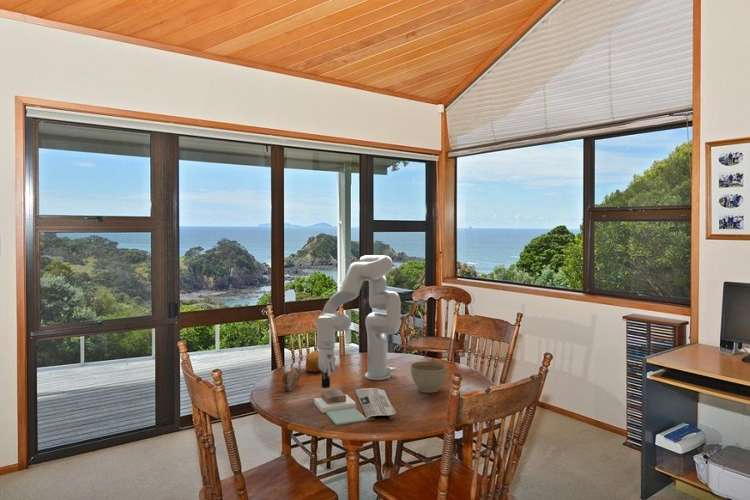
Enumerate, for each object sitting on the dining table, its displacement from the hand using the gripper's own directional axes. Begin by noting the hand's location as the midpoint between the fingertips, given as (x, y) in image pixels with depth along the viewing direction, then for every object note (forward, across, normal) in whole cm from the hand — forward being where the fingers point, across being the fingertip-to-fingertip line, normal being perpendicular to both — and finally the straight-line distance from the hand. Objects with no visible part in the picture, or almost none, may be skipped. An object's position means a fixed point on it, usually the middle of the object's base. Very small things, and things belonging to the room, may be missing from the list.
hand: (325, 387), depth 213 cm
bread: (+4, +46, -12) cm, 47 cm away
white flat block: (+4, -11, 0) cm, 12 cm away
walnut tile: (+3, -10, 0) cm, 10 cm away
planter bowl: (+4, -8, -45) cm, 46 cm away
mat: (+5, -24, 0) cm, 25 cm away
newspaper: (+5, -18, -16) cm, 24 cm away
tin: (+5, +20, +11) cm, 23 cm away
